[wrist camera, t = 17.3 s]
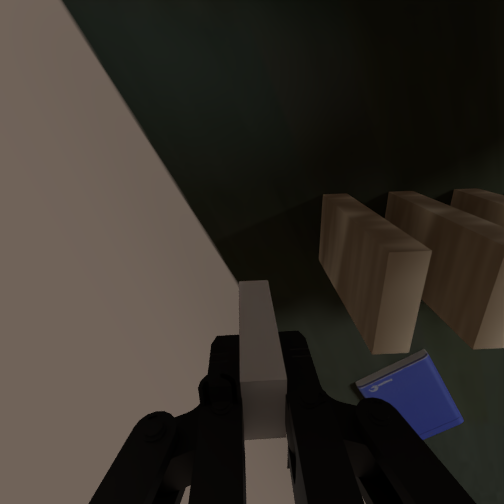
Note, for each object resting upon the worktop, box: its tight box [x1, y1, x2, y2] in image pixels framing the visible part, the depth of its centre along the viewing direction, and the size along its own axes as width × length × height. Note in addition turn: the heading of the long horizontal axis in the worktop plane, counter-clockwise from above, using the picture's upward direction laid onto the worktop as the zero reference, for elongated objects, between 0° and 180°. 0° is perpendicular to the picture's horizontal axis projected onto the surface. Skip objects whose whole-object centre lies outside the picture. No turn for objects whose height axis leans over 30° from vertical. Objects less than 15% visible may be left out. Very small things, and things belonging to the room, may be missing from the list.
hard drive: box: [355, 349, 464, 440], centre depth 34 cm, size 2×8×12 cm
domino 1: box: [319, 193, 432, 354], centre depth 20 cm, size 2×6×12 cm, turn 2°
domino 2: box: [385, 191, 504, 349], centre depth 21 cm, size 2×6×12 cm, turn 2°
